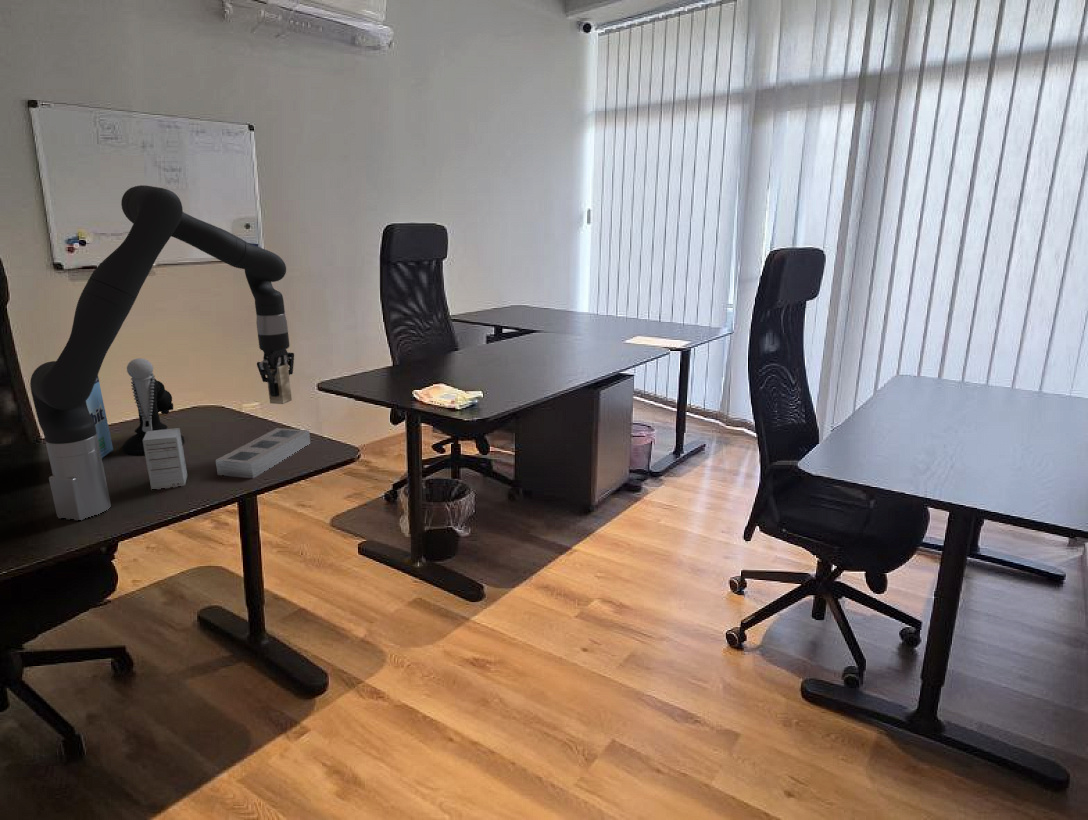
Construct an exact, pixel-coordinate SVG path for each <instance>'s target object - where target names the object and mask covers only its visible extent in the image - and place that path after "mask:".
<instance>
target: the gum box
mask: <svg viewBox="0 0 1088 820" xmlns="http://www.w3.org/2000/svg"><path fill="white" fill-rule="evenodd" d="M102 393H103V392H102V388H101V384H100V379H99V375H98V376H97V379H96V381H95V384H94V387H93V389H92V392H91V394H90V396H89V398H88V399H87V400H86V404H87V408H88V411H89V413H90V415H91V417H92V419H93V421H94V423H95V427H96V432H97V437H98V442H99V447H100V452H101V457H102V459H104V457H105V456H107V455H108V454H109V453H111V452H113V451H114V447H113V443H112V438H111V433H110V428H109V423H108V418H107V414H106V409H105V404H104V399H103V394H102Z"/></svg>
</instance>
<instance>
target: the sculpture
mask: <svg viewBox="0 0 1088 820" xmlns="http://www.w3.org/2000/svg"><path fill="white" fill-rule="evenodd" d="M126 372H127V374H128V375H129V376H130V380H131V382H130V383H131V390H132V395H133V397H134V398H133V400H134V401H135V402H134V403H135V404H136V408H137V413H138V418H139V419H138V420H139V426H138V427H137V428H136V429H134V432H135V434H134V435H131V437H129V438H128V439H126V441H125V442H124V443H123V444H122V446H121V448H122V449H121V450H122V452H123V453H124V454H126V455H131V456H145V452H144V446H143V438H144V436H145V434H146V432H147V431H155V430H164V429H168V425H166V424H164V423H163V422H161V418H160V414H159V413H161V414H162V415H168V414H169V413H170V411H173V410H174V403H173V397H172V394H171V393H170V391H168V390H167V389H165V385H164V383H163V382H162V381H160V380H157V379H156V378H155V377H156V376H155V374H154V373H153V372H154V365H153V364H152V362H150V361H149V360H148V359H145V358H135V359H132V360H130V361H129V362H128V364H127V366H126ZM181 440H182V444H183V445H184V444H185V437H184V436H183V435H181Z"/></svg>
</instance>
